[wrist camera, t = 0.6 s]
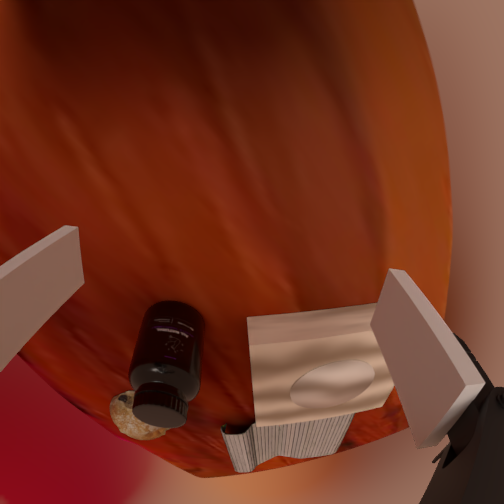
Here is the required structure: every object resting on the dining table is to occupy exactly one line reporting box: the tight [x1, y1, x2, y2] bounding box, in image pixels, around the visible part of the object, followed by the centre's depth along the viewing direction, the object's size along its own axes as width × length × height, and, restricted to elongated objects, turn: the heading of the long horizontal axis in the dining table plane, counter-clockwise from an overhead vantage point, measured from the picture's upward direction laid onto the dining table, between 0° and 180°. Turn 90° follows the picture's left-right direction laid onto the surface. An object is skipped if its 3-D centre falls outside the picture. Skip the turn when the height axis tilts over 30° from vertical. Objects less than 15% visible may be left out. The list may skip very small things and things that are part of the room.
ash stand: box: [247, 303, 394, 427], centre depth 36 cm, size 20×20×4 cm
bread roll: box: [110, 391, 170, 440], centre depth 41 cm, size 10×10×8 cm
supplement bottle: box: [128, 301, 205, 428], centre depth 27 cm, size 7×7×12 cm
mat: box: [221, 413, 355, 472], centre depth 50 cm, size 23×24×5 cm
